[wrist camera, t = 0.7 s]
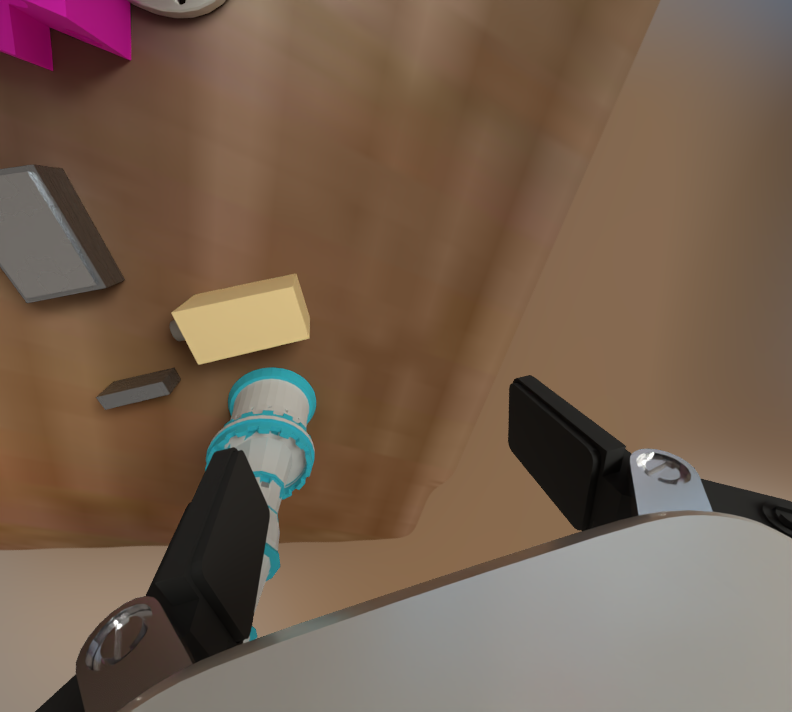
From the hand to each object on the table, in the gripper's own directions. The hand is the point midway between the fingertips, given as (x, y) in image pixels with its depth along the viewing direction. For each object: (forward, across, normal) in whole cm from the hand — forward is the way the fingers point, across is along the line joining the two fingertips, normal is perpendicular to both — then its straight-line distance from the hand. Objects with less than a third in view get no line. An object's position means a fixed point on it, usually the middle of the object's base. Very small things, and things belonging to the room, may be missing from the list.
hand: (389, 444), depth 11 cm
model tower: (+27, +11, +12) cm, 31 cm away
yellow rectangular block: (+26, +9, 0) cm, 28 cm away
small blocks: (+26, +22, -3) cm, 34 cm away
